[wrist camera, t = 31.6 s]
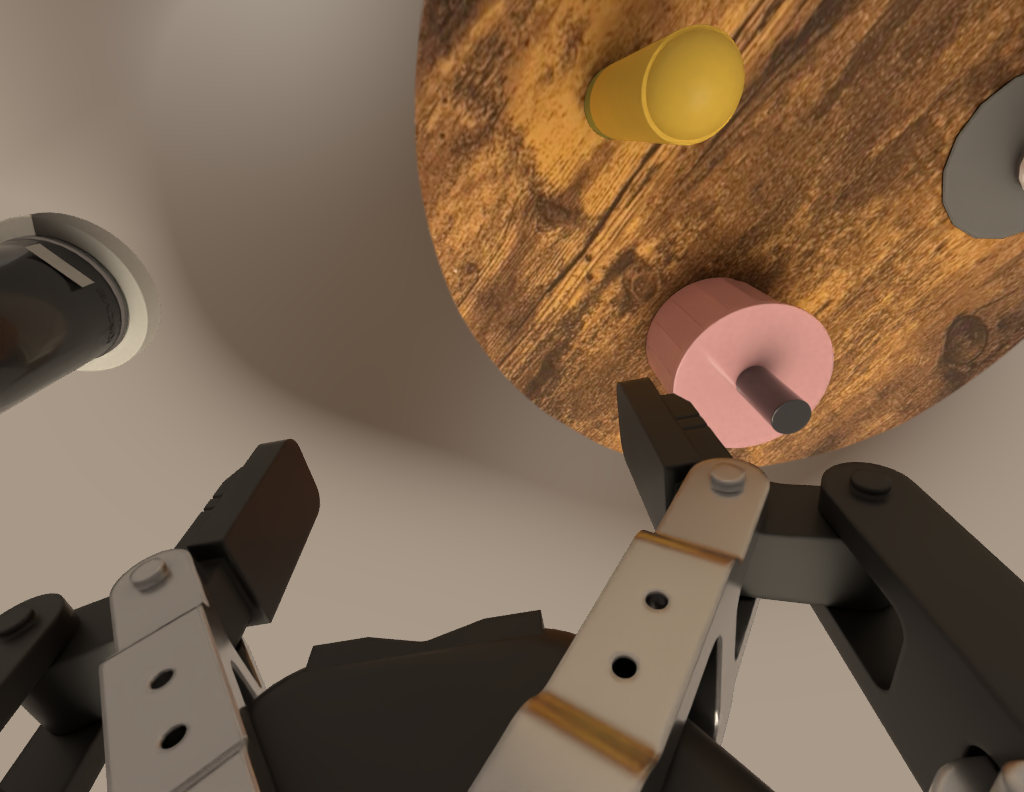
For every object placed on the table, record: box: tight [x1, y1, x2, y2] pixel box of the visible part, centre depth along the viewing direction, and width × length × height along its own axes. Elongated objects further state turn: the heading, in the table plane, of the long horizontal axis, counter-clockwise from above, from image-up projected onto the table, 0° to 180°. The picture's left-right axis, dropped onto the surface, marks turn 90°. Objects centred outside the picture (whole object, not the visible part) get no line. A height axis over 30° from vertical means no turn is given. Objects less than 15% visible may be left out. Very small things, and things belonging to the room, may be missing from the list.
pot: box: [646, 277, 778, 394], centre depth 39 cm, size 10×10×8 cm
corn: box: [584, 24, 745, 145], centre depth 27 cm, size 4×4×16 cm
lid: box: [671, 301, 834, 448], centre depth 33 cm, size 11×11×6 cm
